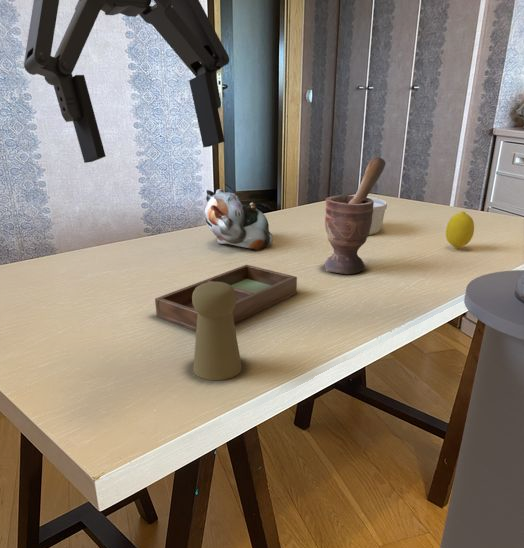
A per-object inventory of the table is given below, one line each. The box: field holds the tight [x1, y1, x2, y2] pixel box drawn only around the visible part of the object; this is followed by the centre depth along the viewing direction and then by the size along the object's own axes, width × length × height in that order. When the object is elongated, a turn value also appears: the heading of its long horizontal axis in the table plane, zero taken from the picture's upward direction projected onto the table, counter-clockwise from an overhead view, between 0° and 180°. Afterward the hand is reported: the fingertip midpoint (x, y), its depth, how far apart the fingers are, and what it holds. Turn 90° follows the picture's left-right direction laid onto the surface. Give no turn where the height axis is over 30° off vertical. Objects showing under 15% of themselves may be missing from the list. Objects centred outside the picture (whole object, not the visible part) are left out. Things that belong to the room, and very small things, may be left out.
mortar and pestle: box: [324, 156, 386, 275], centre depth 98 cm, size 12×9×20 cm
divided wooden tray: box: [154, 264, 298, 332], centre depth 85 cm, size 11×21×3 cm, turn 142°
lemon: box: [445, 210, 475, 250], centre depth 112 cm, size 6×6×8 cm
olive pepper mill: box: [192, 282, 243, 381], centre depth 64 cm, size 6×6×11 cm
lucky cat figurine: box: [204, 188, 274, 251], centre depth 114 cm, size 15×12×14 cm
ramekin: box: [366, 196, 388, 236], centre depth 127 cm, size 13×13×7 cm
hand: (159, 152), depth 51 cm, fingers open, 13 cm apart
